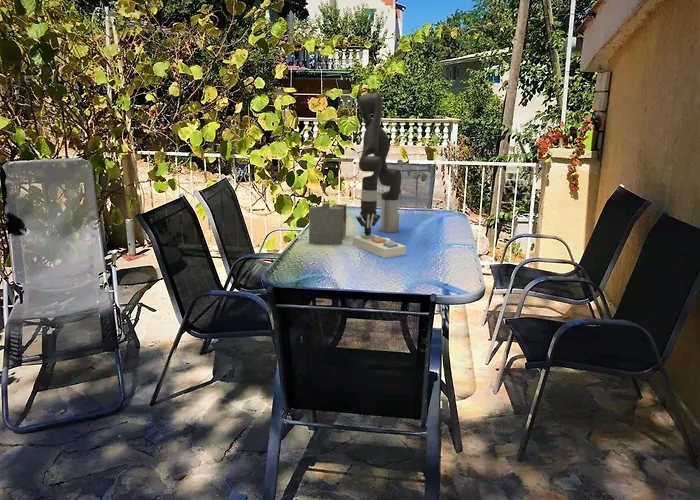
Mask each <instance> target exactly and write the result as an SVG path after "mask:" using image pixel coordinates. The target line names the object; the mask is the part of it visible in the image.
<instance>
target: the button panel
mask: <svg viewBox="0 0 700 500" xmlns="http://www.w3.org/2000/svg"><path fill="white" fill-rule="evenodd" d="M371 234H372V233H371ZM372 235H374V236H375V238H383V239H385V240H386V242H384V243H387V242H393V243H396V244H398V247H392V248H388V247H386V246H383V243H375V242H373V241H372V239H373V238H371V239H365V238H362V237H361V235H358V236H353V237H352V245H353V246H354V247H357V248H358V249H362V250H363V251H366V252H369V253H370V254H373V255H376V256H378V257H381V258H383V259H388V258H394V256H395V257H399V256H398V255H401V256H403V255H402V254H406V253H407V246H406V245H403V244H402V243H398V242H397V241H393V240H390V239H387V238H385V237H382V236H379V235H376V234H372Z"/></svg>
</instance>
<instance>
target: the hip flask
mask: <svg viewBox="0 0 700 500" xmlns="http://www.w3.org/2000/svg"><path fill="white" fill-rule="evenodd" d="M321 205H322V206H320V205H319V206H318V205H317V206H310V207H309V209H308V210H309V211H308V212H309V214H308V219H309V220H308V221H309V222H308V224H309V225H308V230H309V231H308V243H309V244H310V243H313V244H314V245H342V244H343V239H342V223H343V208H342V207H332V206H331V207H330V205H331V203H330V201H329V202H327V201H326V202H322V204H321ZM313 244H312V245H313Z"/></svg>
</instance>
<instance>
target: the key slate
mask: <svg viewBox="0 0 700 500" xmlns="http://www.w3.org/2000/svg"><path fill="white" fill-rule="evenodd" d="M393 242H394V241H393ZM393 242H387V243H383V246H386V247H388V248H392V247H398V244H396V243H397V242H396V243H393Z"/></svg>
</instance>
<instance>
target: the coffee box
mask: <svg viewBox="0 0 700 500" xmlns="http://www.w3.org/2000/svg"><path fill="white" fill-rule="evenodd" d="M331 207H342V208H343V223H342V240H343V239H344V238H345V237H346V236H347V235H346V234H347V204H336V203H335V204H333V205H332V206H331Z"/></svg>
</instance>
